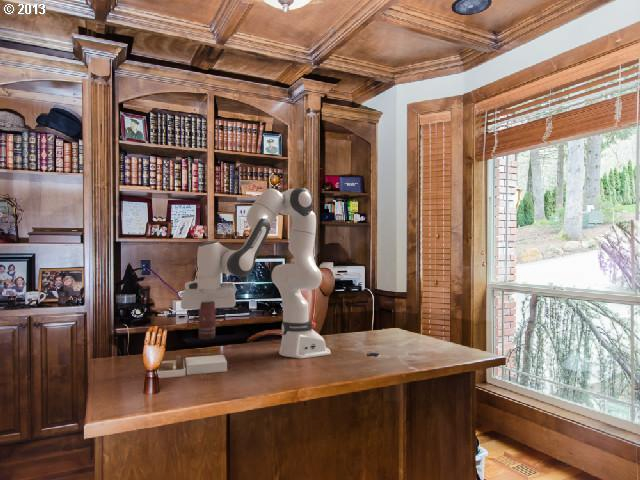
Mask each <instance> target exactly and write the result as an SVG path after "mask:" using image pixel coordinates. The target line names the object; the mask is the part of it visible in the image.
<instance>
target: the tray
mask: <svg viewBox="0 0 640 480" xmlns="http://www.w3.org/2000/svg"><path fill="white" fill-rule="evenodd" d="M162 363H173V370H169V371H159V369H158V370H157V374H158V377H159V379H167V378H178V377H179V378H180V377H181V378H182V377H186V368H185V360H184V359H183V369H181V370H176V359H175V360H162Z"/></svg>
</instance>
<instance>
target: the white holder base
mask: <svg viewBox="0 0 640 480" xmlns="http://www.w3.org/2000/svg"><path fill="white" fill-rule="evenodd" d="M184 359H185V360H184V364H185V369H186V373H185V375H187V376H188V375H199V374H211V373H213V374H214V373H222V372H223V373H224V372H228V361H227V359H226V357H225V355H224V354H215V355H214V354H213V355H202V356H192V357H191V356H190V357H188V356H187V357H185V358H184Z"/></svg>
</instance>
